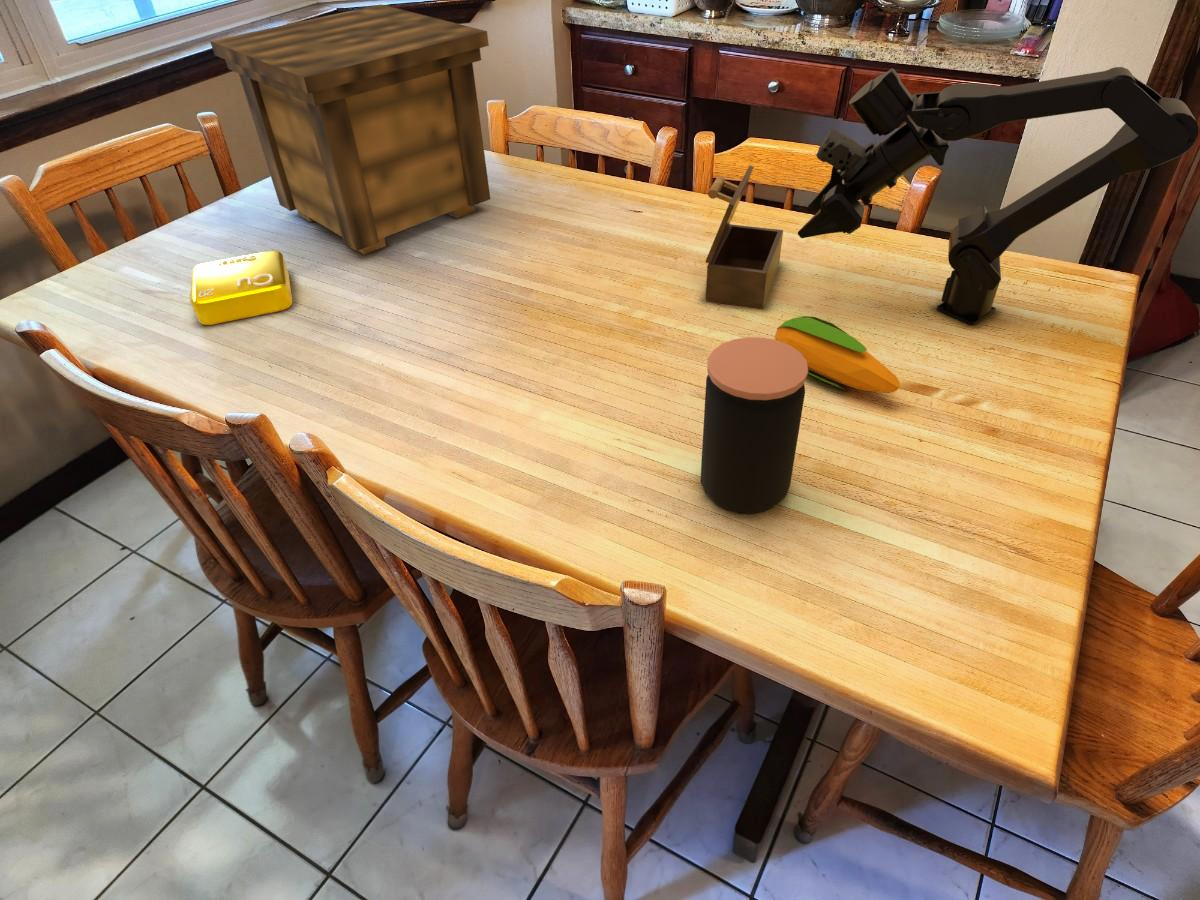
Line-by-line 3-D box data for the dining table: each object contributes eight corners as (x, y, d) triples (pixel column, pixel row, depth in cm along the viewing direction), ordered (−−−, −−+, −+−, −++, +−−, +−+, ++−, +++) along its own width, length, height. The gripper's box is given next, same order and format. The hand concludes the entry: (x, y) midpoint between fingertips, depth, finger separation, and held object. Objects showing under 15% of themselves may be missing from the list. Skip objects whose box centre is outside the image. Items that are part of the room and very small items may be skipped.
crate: (267, 216, 162) (210, 40, 140) (412, 166, 179) (380, 4, 158) (355, 271, 142) (303, 77, 121) (508, 209, 159) (487, 31, 138)
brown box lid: (754, 166, 129) (727, 155, 129) (734, 205, 118) (704, 193, 118) (730, 222, 136) (705, 211, 136) (709, 264, 125) (682, 252, 125)
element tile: (288, 269, 143) (280, 245, 140) (293, 309, 133) (285, 283, 130) (200, 286, 140) (190, 262, 137) (199, 328, 129) (187, 302, 126)
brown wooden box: (779, 264, 138) (783, 229, 134) (762, 309, 127) (766, 273, 123) (726, 257, 140) (728, 223, 136) (705, 301, 129) (707, 265, 125)
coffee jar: (778, 455, 100) (796, 333, 88) (797, 515, 92) (819, 390, 80) (694, 460, 100) (700, 338, 88) (706, 520, 92) (714, 396, 80)
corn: (797, 295, 115) (922, 349, 103) (793, 338, 120) (912, 394, 108) (764, 317, 111) (890, 375, 100) (762, 361, 117) (881, 421, 105)
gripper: (863, 94, 118) (781, 161, 128) (850, 137, 105) (759, 208, 115) (908, 151, 121) (823, 212, 131) (900, 200, 108) (807, 264, 118)
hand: (803, 222), depth 124 cm, fingers open, 9 cm apart
